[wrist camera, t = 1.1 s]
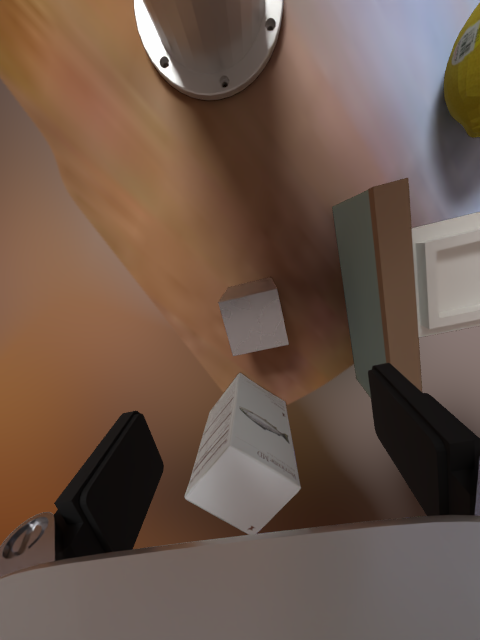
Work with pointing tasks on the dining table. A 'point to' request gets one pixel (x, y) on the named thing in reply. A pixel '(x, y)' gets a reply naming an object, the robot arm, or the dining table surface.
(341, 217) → the door board
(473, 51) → the lemon
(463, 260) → the cradle
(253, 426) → the supplement box
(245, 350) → the block
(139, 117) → the dining table surface
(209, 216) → the dining table surface
